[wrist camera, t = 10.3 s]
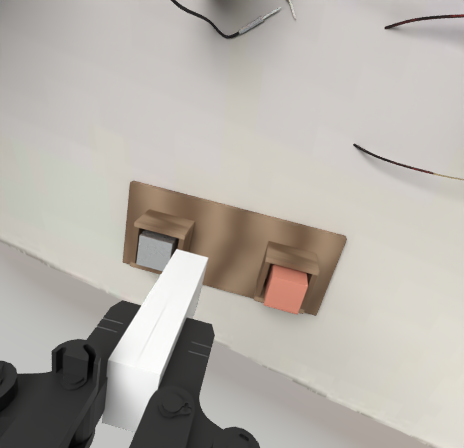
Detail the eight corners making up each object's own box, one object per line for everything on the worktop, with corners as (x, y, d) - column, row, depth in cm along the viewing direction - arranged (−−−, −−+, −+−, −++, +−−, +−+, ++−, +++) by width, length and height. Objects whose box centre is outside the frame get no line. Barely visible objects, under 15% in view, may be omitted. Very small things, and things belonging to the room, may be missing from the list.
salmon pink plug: (266, 282, 43) (263, 305, 38) (274, 255, 41) (272, 276, 37) (296, 290, 42) (297, 314, 38) (305, 264, 41) (307, 286, 36)
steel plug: (151, 246, 45) (136, 264, 40) (155, 219, 43) (139, 235, 39) (180, 253, 44) (167, 272, 40) (184, 227, 43) (172, 244, 38)
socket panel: (125, 258, 48) (106, 279, 43) (133, 180, 43) (113, 192, 38) (315, 311, 46) (319, 338, 41) (345, 235, 41) (353, 256, 36)
